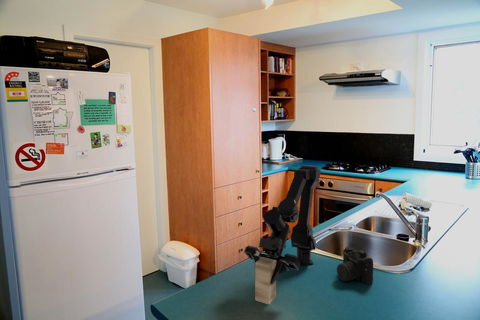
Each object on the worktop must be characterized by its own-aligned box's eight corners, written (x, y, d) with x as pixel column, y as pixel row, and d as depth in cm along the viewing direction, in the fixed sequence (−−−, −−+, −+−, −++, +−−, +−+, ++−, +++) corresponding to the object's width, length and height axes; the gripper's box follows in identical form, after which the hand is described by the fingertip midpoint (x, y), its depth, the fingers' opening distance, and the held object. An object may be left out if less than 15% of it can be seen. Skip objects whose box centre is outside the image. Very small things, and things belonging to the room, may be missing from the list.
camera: (327, 272, 138) (328, 247, 136) (350, 267, 142) (351, 243, 140) (351, 289, 125) (352, 261, 124) (376, 283, 129) (377, 256, 127)
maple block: (262, 293, 122) (262, 257, 121) (275, 297, 120) (276, 260, 118) (255, 300, 118) (255, 262, 116) (269, 304, 116) (269, 266, 114)
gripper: (246, 222, 124) (229, 265, 116) (297, 231, 114) (282, 279, 106) (257, 237, 132) (242, 278, 124) (306, 247, 122) (292, 292, 114)
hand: (263, 281), depth 117 cm, fingers closed on maple block, 5 cm apart
